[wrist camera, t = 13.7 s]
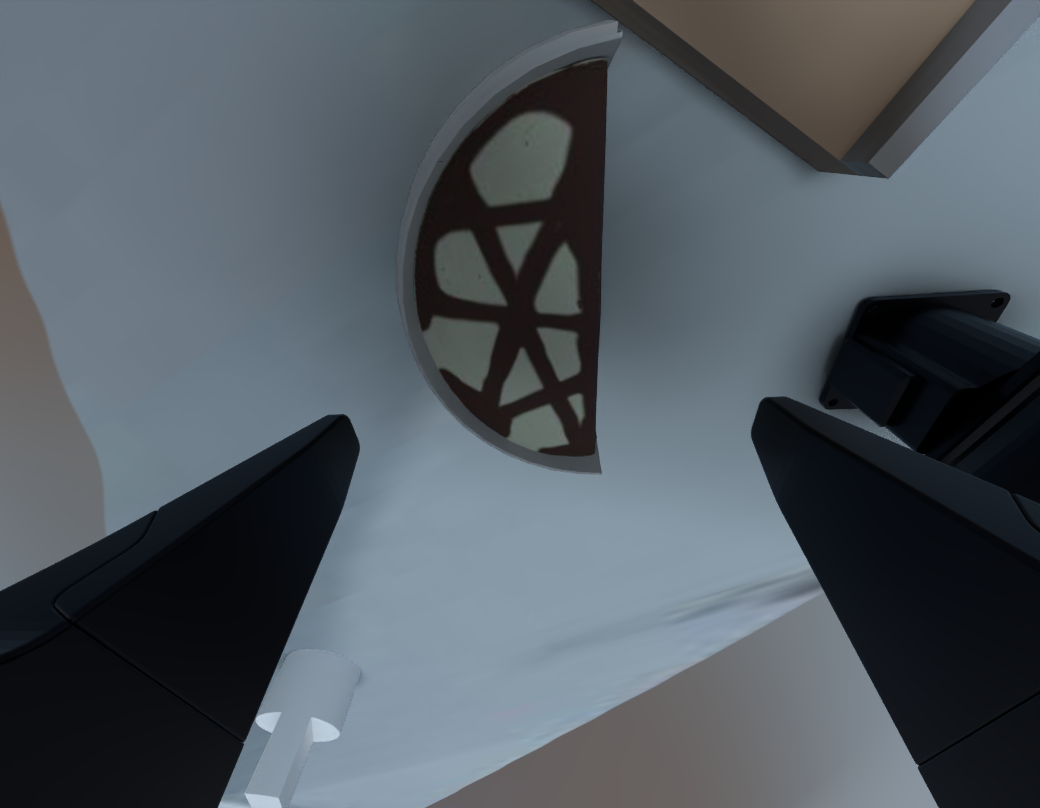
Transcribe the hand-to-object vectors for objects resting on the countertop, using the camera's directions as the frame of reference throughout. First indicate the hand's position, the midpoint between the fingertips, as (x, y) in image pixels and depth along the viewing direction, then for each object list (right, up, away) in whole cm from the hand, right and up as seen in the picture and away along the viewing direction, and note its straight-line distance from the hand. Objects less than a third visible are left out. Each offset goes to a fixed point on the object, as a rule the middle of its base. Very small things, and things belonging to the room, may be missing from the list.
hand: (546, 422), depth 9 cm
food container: (-1, +8, +10) cm, 13 cm away
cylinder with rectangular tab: (-25, -32, +39) cm, 56 cm away
